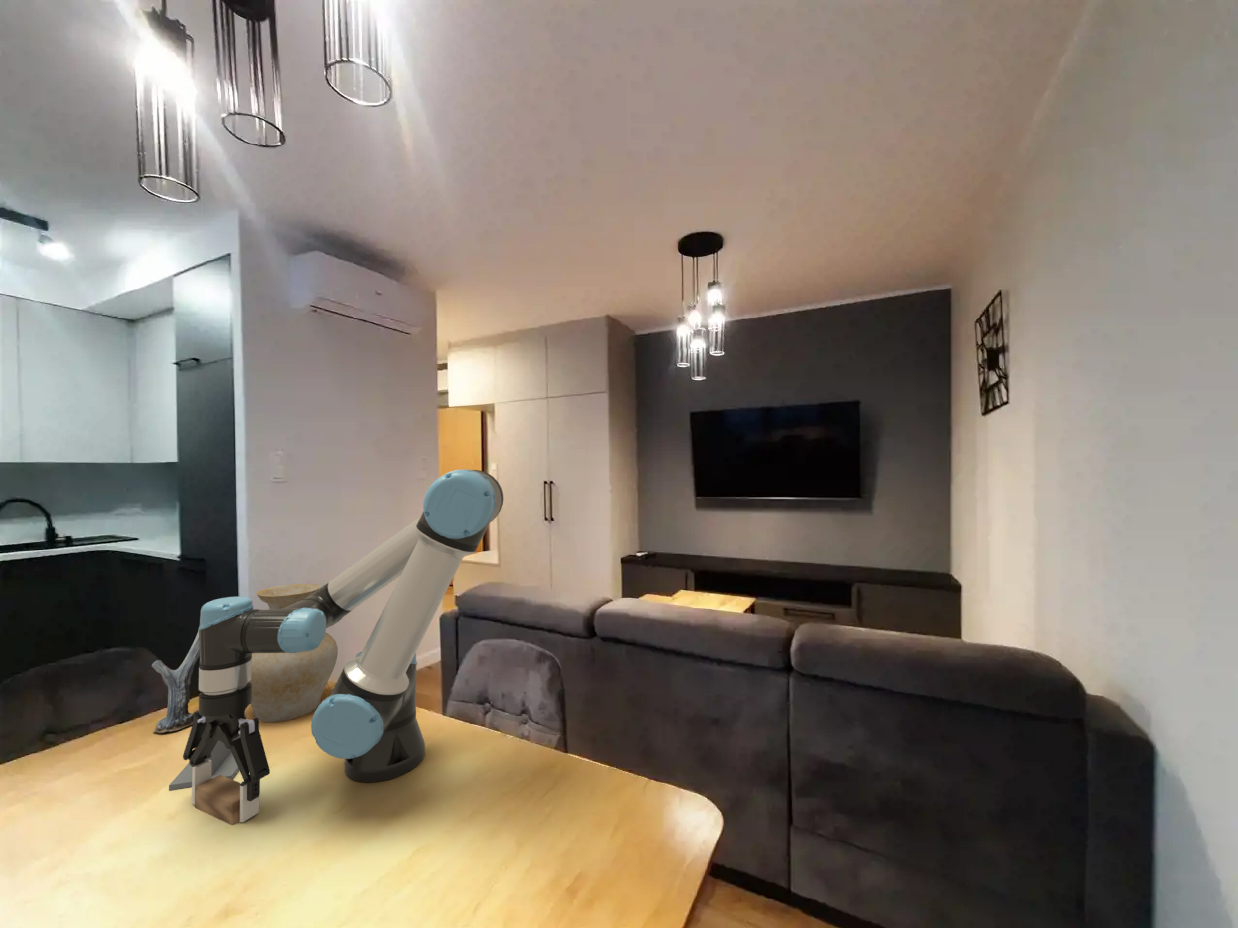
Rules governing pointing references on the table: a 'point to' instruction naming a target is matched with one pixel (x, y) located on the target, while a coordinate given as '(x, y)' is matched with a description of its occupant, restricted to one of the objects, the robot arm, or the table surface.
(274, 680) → the vase
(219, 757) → the ridge block
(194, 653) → the antler
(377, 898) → the table surface
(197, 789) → the walnut bar
